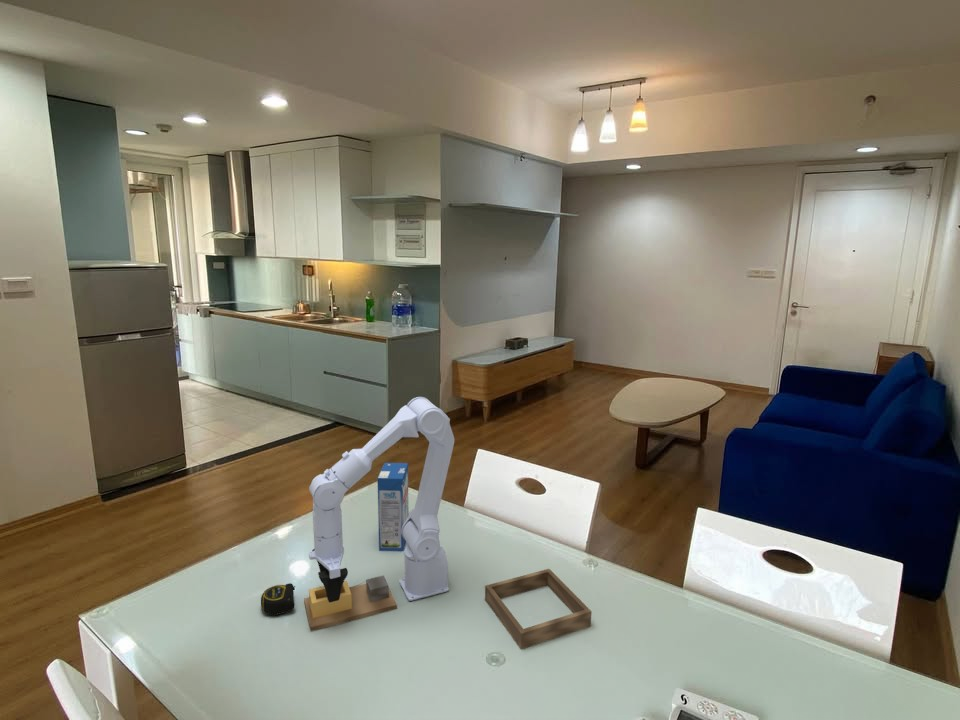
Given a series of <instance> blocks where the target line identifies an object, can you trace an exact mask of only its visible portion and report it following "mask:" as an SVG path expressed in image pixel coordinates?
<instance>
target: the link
mask: <svg viewBox="0 0 960 720" xmlns="http://www.w3.org/2000/svg"><path fill="white" fill-rule="evenodd" d="M349 587H350V586H349V583H348V580H344V582H343V585H342V589H341V594H340V598H339V600H338V601H334V602H329V601H328V598H327V595H326V590H325V587H324V585H322V586H318V587H314V588H310V589H308V597H309V600H310V608H311V612H312V617H313V618H317V617H321V616H325V615H329V614H333V613H337V612H341V611H344V610H348V609H352V598H351V591H350V589H349Z"/></svg>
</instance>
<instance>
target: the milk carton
mask: <svg viewBox="0 0 960 720" xmlns="http://www.w3.org/2000/svg"><path fill="white" fill-rule="evenodd" d="M376 483H377V514H378V551H379V552H382V551H383V552H384V551H385V552H404V550H405V547H406V540H405V539H404V538H403V537H402V533H401V529H402V526H403V524H404V523H405V521H406V520H407V518H408V516H409V512H410V511H409V463H408V462H384V463H383V465H382V468H381V469H380V471H379V474H378V476H377V482H376Z"/></svg>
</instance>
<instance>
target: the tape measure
mask: <svg viewBox="0 0 960 720" xmlns="http://www.w3.org/2000/svg"><path fill="white" fill-rule="evenodd" d="M295 590H296V586H295V585H293V583H292V582H290V583H286V584H276V585H271V587H268V588H267V589H265V590H264V591H263V593H262V594H261V597H260V607H261V610H262V611H263V613H265V614H267V615H271V616H272V615H274V616H275V615H276V616H277V615H281V614H283V613H287V612H290V611H293V610H294V608H295V599H294V595H295V594H294V591H295Z"/></svg>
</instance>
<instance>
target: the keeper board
mask: <svg viewBox="0 0 960 720" xmlns="http://www.w3.org/2000/svg"><path fill="white" fill-rule="evenodd" d="M349 589H350V591H351V598H352V609H348V610H344V611H341V612H337V613H333V614H329V615H325V616H321V617H317V618H313V617H312V612H311V608H310V600H309V596H307V597H305V598H304V599H303V600H304V606H305V607H304V608H305V611H306V617H307V621H308V626H309V629H310V632H314V631H317V630H322V629H325V628H329V627H333V626H334V627H335V626H336V625H340V624H344V623H348V622H352V621H357V620H360V619H364V618H367V617H371V616H374V615H378V614H382V613H385V612H389V611H390V612H391V611H393V610H397V609H398V604H397V602H396V599H395V598H394V595H393V593H392V590H391V589H390V587H389V583H388V581H387V579H386V577H385V575H380V576H375V577H371V578H367V579H365V583H362V584H358V585H355V586H349Z"/></svg>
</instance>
